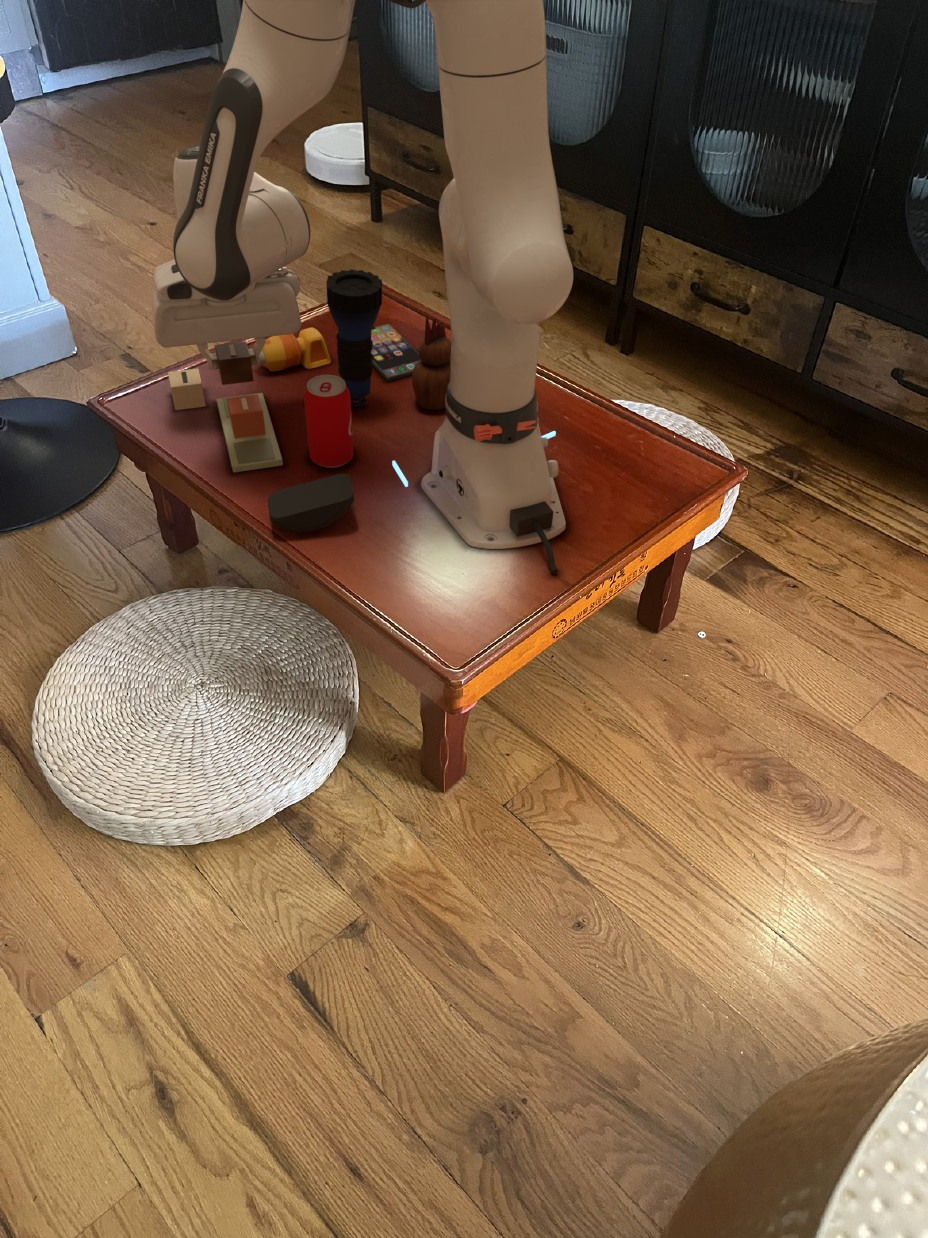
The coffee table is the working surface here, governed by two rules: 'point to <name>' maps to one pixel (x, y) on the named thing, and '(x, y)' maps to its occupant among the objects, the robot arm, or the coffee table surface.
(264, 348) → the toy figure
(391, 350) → the smartphone
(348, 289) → the flashlight
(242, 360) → the brown box with stripe
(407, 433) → the coffee table surface
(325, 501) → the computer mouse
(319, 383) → the beverage can
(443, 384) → the wooden figurine
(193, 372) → the letter i block
